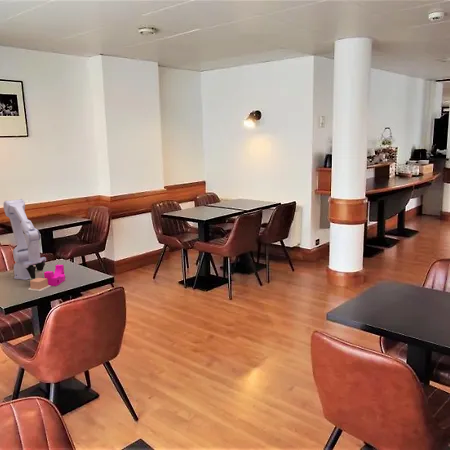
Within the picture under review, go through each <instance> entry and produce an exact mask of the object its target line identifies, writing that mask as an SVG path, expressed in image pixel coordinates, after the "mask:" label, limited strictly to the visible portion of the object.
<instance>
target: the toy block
mask: <svg viewBox="0 0 450 450" xmlns="http://www.w3.org/2000/svg"><path fill="white" fill-rule="evenodd" d="M43 274H44V275H43V278H47V279H48V285H51V287H58V286H59V285H60V284H62V283H63V282H65V281H66V274H65V266H64V264H56V265H55V270H47V271H44V272H43Z"/></svg>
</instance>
